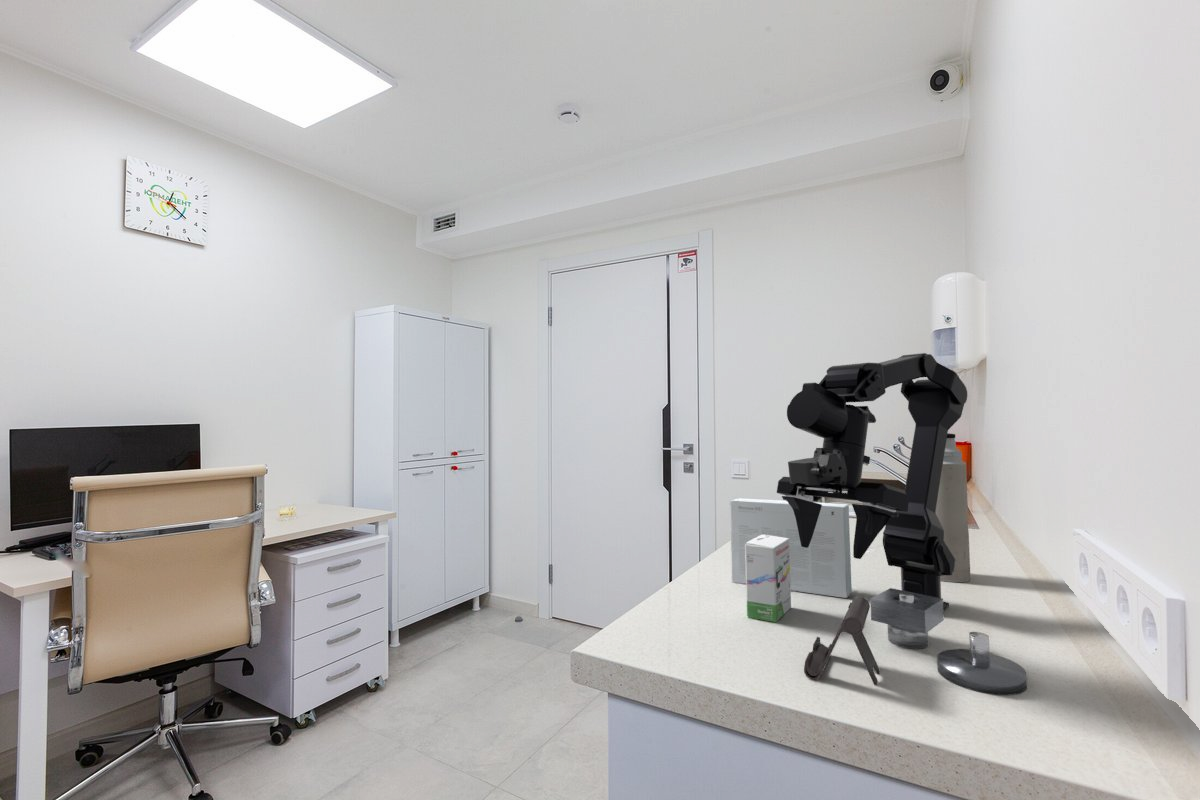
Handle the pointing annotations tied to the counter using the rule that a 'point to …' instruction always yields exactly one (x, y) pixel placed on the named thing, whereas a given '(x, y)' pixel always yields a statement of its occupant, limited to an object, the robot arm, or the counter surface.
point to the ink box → (768, 577)
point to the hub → (981, 668)
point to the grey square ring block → (907, 610)
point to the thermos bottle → (954, 510)
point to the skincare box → (796, 544)
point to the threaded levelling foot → (907, 632)
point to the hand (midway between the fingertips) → (829, 552)
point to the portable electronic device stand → (850, 625)
